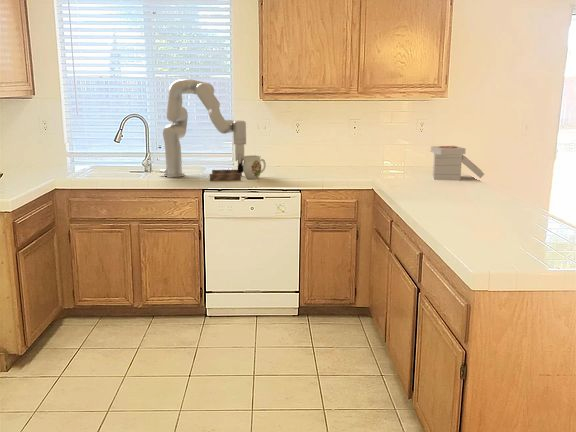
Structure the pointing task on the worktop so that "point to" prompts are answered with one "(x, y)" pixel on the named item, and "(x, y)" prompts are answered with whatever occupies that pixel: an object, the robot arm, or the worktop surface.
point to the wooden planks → (225, 175)
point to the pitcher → (253, 166)
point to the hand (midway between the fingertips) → (240, 172)
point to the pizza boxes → (451, 163)
